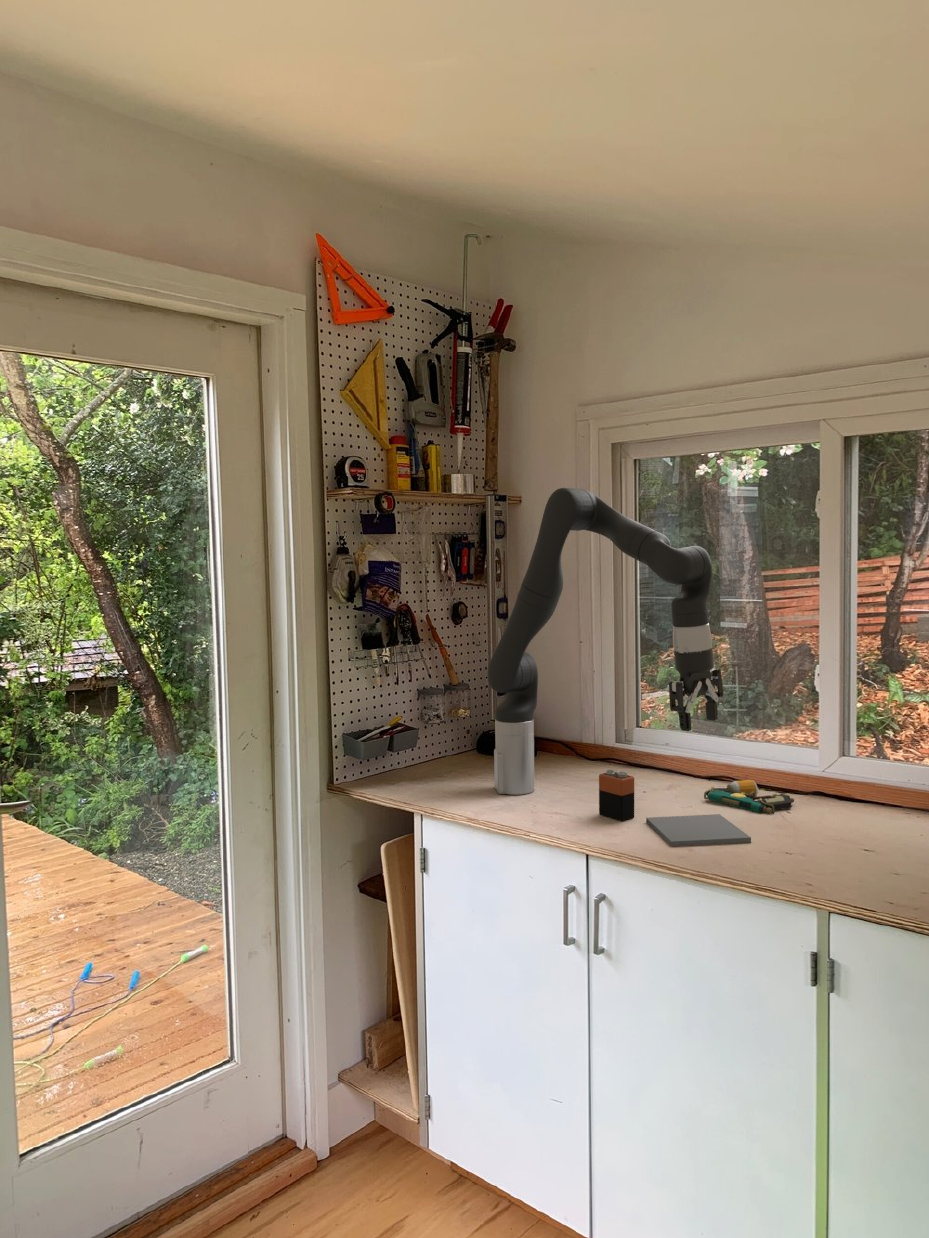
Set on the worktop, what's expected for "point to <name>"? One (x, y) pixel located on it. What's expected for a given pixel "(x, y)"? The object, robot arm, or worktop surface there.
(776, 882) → the worktop surface
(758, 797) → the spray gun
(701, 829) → the mat
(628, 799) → the battery
